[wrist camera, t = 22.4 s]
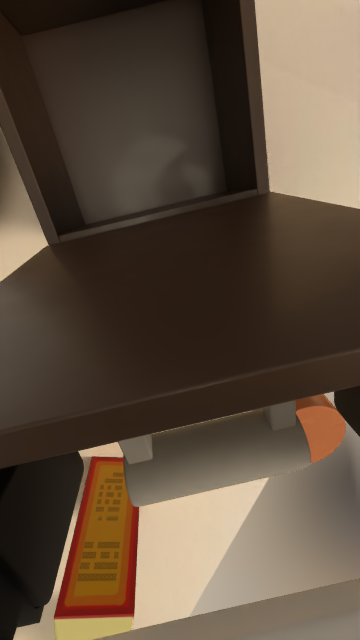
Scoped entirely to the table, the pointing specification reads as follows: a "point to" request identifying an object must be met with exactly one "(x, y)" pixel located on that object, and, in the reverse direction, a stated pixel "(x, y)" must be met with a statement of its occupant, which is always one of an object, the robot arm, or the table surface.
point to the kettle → (320, 425)
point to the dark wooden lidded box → (131, 109)
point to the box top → (183, 342)
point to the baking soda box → (100, 559)
